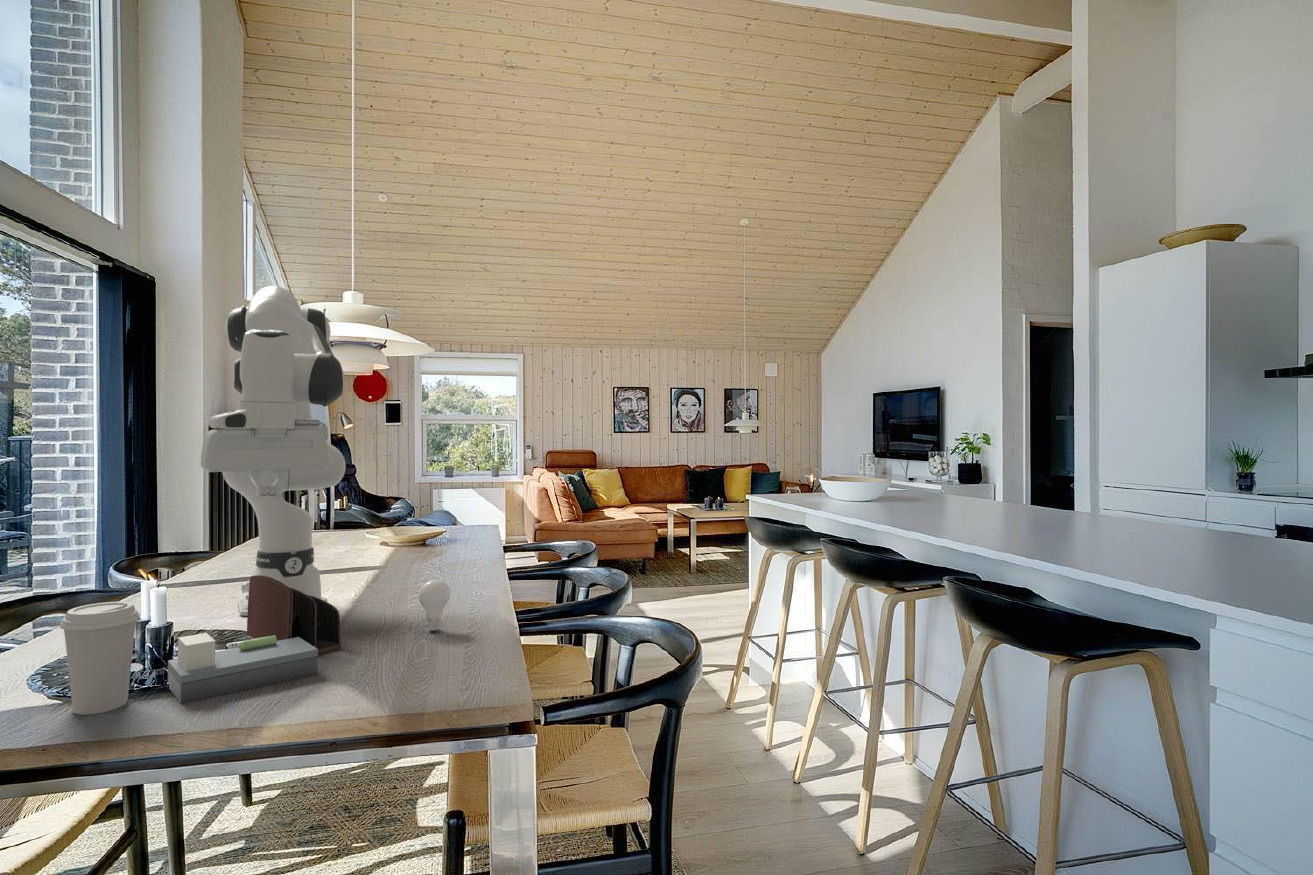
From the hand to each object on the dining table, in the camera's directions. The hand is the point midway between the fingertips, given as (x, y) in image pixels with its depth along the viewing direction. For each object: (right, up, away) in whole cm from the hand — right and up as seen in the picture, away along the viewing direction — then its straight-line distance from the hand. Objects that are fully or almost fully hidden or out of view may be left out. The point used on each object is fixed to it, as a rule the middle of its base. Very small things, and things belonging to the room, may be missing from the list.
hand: (267, 495), depth 127 cm
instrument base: (+1, -30, -8) cm, 32 cm away
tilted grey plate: (+1, -27, -8) cm, 29 cm away
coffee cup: (-14, -31, -20) cm, 39 cm away
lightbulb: (+23, -31, +22) cm, 44 cm away
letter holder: (-1, -31, +11) cm, 33 cm away
